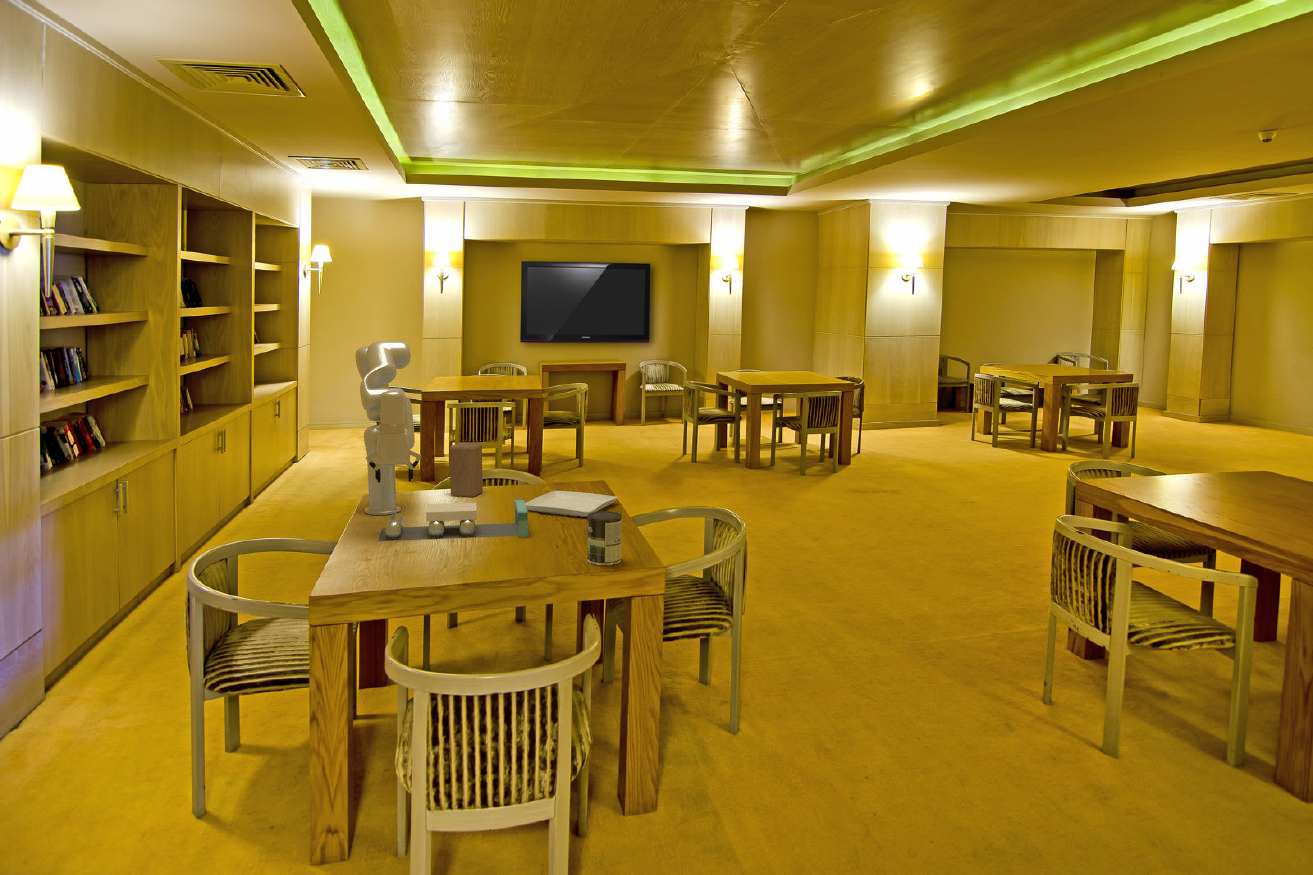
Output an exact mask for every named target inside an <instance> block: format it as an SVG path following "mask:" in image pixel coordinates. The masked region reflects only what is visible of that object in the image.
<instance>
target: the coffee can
mask: <svg viewBox="0 0 1313 875" xmlns="http://www.w3.org/2000/svg"><path fill="white" fill-rule="evenodd" d="M622 518H623V514H621V513H619V512H616V511H610V510H609V511H606V510H598V511H597V512H592V513H589V514H588V515H587V559H586V560H587V563H589V564H591V563H592V564H591V565H594V564H595V566H601V565H604V566H605V565H607V566H614V565H613V564H615V565H617V564H616V563H618V564H620V563H621V562H622ZM605 567H606V566H605Z"/></svg>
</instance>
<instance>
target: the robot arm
mask: <svg viewBox="0 0 1313 875" xmlns="http://www.w3.org/2000/svg"><path fill="white" fill-rule="evenodd" d="M410 349H411V348H410V347H409V345H408V343H407V342H404V341H401V340H400V341H398V340H395V341H394V340H393V341H392V340H390V341H389V340H388V341H386V340H381V341H380V340H379V341H375V342H372V343H369V345H366V346H365V345H364V346H361V347H359V348H357V349H356V351H355V364H356V368H357V371H358V373H359V376H360V378H361V382H360V386H359V394H360V401H361V404H362V408H363V409H364V410H365V411H366V416H367V419H368V420H369V421H371V422H374V423H375V422H376V423H378V422H379V423H380V424H375V425H370V426H367V428H366V429H365V430H364V432H363V440H364V441H363V442H364V447H365V451H366V456H365V459H366V462H367V485H368V486H367V488H368V493H367V494H368V506H367V507H365V508H364V513H366V514H367V515H373V516H385V515H392V514H394V513H400V512H401V510H402V508H401V507H402V506H400V505H397V491H396V490H397V488H396V466H402V465H405V466H407V468H408V470H407V473H408V475H407V476H408V478H407V479H408V483H409V482H410V483H411V482H412V480H414V469H415V468H416V467H417V466H418V465H419V463H420V461H421V459H422V455H421V454H420V453H418V452H416V451H413V450H411V449H413V448H414V447H415V442H416V440H415V439H416V438H415V428H414V415H413V414H414V413H413V407H412V406H413V405H412V402H411V400H410V398H409V396H407V393H406V392H405V391H404V389H402V388H398V387H397V388H396V387H393V388H391V387H390V383H391V382H393V381H394V380H395V379H396V376H397V374H398V373H397V372H398V371H397V370H402V369H405V368H406V367H407V366H408V365H409V364H410V362H411V360H412V358H411V357H412V356H411V355H412V354H411V350H410ZM389 387H390V388H389ZM411 456H412V457H414V458H415V460H414V461H413V463H412V462H411Z"/></svg>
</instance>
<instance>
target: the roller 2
mask: <svg viewBox="0 0 1313 875" xmlns="http://www.w3.org/2000/svg"><path fill="white" fill-rule="evenodd" d="M475 524H476V520H459V525H460V533H461V535H462V536H464V537H471V536H472V535H473V534H474V533H475Z"/></svg>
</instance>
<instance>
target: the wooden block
mask: <svg viewBox="0 0 1313 875" xmlns="http://www.w3.org/2000/svg"><path fill="white" fill-rule="evenodd" d="M482 445H483V444H481V443H476V442H475V443H474V442H458V443H456V444H454V445H450V447H449V467H450V468H449V469H450V470H449V472H450V473H449V474H450V479H449V480H450V495H451V497H460V496H463V497H462V498H464V497H465V498H474V497H477V496H478V495H479V494H482V493H483V489H484V488H483V486H484V485H483V446H482Z"/></svg>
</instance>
